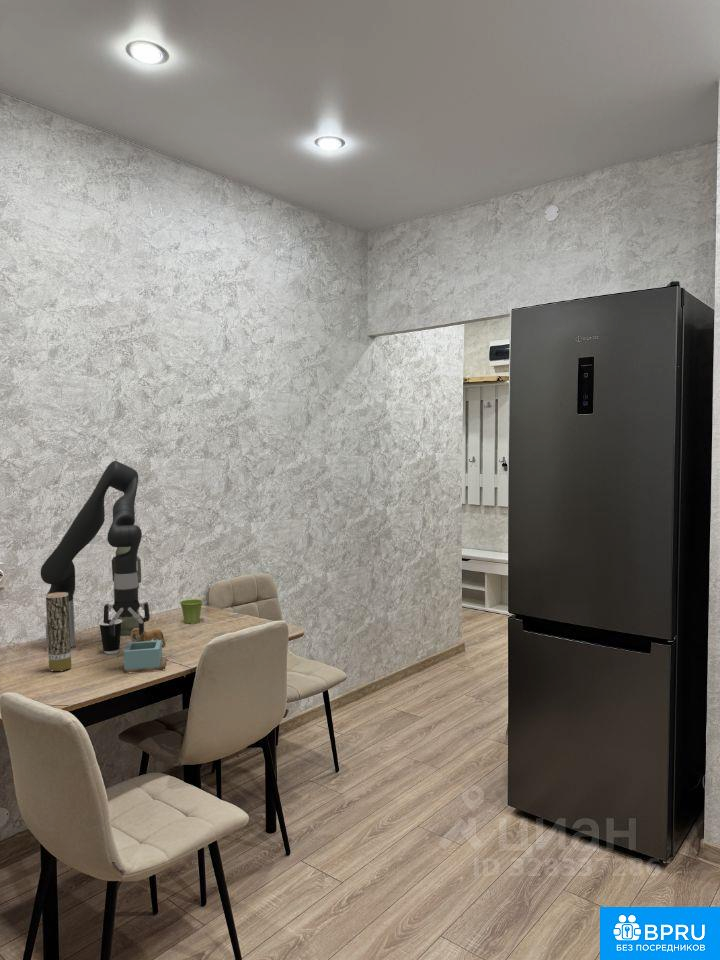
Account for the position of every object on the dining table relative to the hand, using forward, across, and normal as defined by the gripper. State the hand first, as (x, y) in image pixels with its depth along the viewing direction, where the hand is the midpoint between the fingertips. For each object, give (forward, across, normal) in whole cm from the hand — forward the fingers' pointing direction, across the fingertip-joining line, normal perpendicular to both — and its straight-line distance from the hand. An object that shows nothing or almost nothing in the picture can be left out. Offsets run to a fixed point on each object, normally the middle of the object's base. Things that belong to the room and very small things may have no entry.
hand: (127, 635), depth 231 cm
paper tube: (+12, -22, +5) cm, 25 cm away
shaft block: (+11, +6, 0) cm, 13 cm away
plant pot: (+11, +18, +58) cm, 61 cm away
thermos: (+12, -6, +47) cm, 49 cm away
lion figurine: (+11, +4, +21) cm, 24 cm away
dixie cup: (+12, -8, +21) cm, 25 cm away
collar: (+10, +5, 0) cm, 11 cm away
